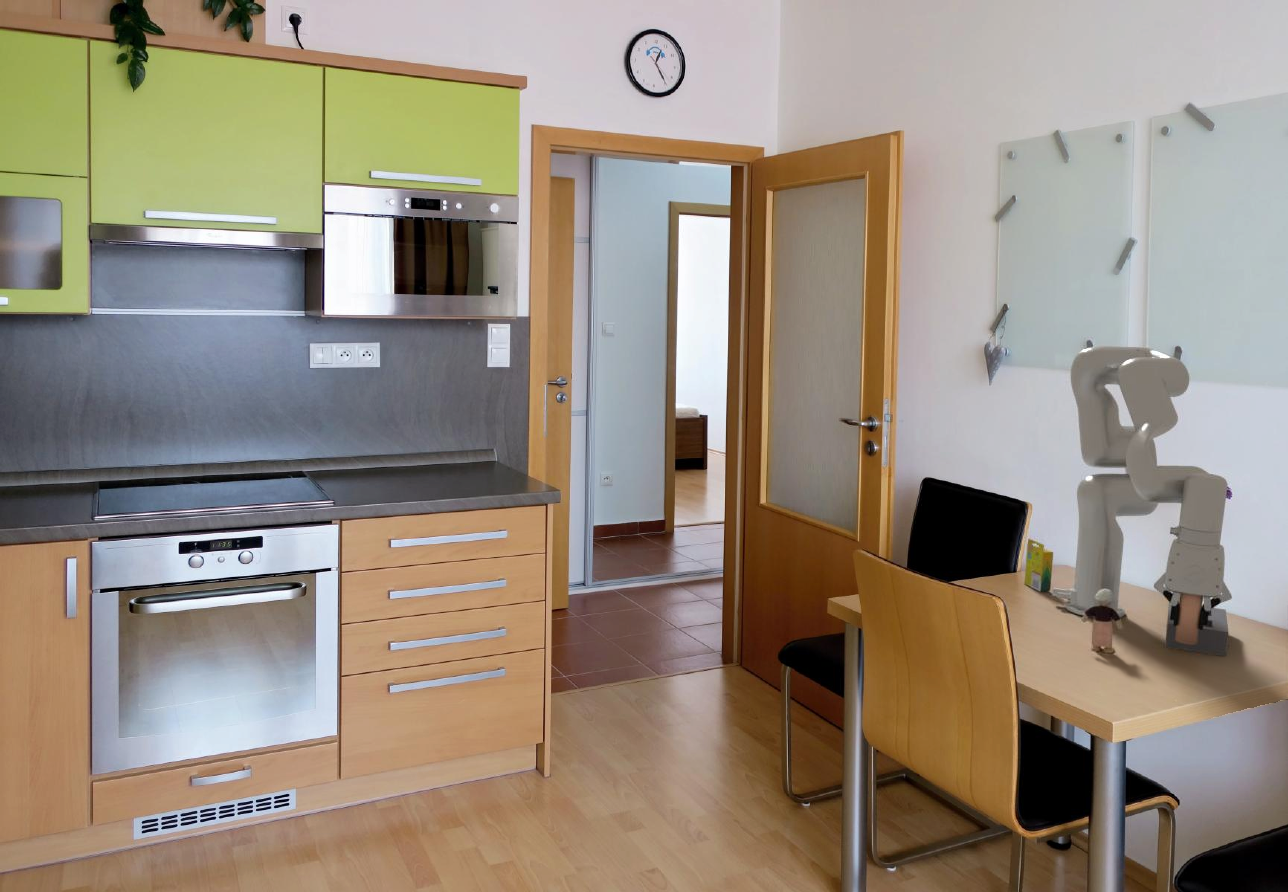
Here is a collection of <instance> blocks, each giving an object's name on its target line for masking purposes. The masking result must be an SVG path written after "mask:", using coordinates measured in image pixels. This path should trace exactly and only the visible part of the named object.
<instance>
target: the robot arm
mask: <svg viewBox="0 0 1288 892" xmlns="http://www.w3.org/2000/svg"><path fill="white" fill-rule="evenodd" d="M1070 384H1071V389H1072V393H1073V396H1074V399H1075V401H1076V407H1077V413H1078V417H1077V418H1078V429H1079V430H1078V431H1079V442H1080V451H1081V458H1082V460H1083V462H1084V463H1085V464H1086V465H1087V466H1089V467H1092V468H1099V469H1101V468H1102V469H1124V470H1125V473H1095V474H1090V475H1088V476H1086V477H1084V478H1083V479H1081V481H1080V482H1079V484H1078V486H1077V491H1076V500H1077V509H1078V534H1077V548H1076V557H1075V570H1074V582H1073V586H1072V588H1070V587H1068V588H1067V589H1066V588H1065V589H1064V588H1062V587H1061V588H1060V587H1053V588H1052V596H1053V597H1056V598H1057V599H1062V600H1063V599H1065V600H1066V601H1065V603H1064V608H1065V609H1066V610H1067V611H1069V612H1071V613H1073V614H1076V615H1080V616H1082V617H1083V616H1084V614H1085V611H1087V610H1088V609H1089V608H1091V607H1093V606H1101V605H1100V604H1099V603H1098V601H1097V600H1096V599H1095V596H1096V594H1097V593H1098V591H1100V590H1102V589H1109V590H1111V591H1112V593H1113V599H1112V602H1111V604H1110V605H1109V606H1107V607H1110V608H1112V609H1114V610H1115V611H1116V612H1117V614H1118V615H1119V617H1120V618H1122V617H1123V616H1125V613H1126V612H1125V611H1126V610H1125V608H1124V607H1123V606H1121V605H1120V604H1119V595H1120V586H1121V585H1120V584H1121V574H1122V573H1121V572H1122V565H1123V564H1122V562H1123V555H1124V554H1123V553H1124V542H1125V541H1124V539H1125V538H1124V533H1123V530H1122V528H1121V526H1120V524H1119V523H1118V521H1117V519H1116V518H1117V517H1142V516H1148V515H1151V514H1153V513H1154V511H1155V510H1156V509H1157V507H1158V504H1181V505H1180V512H1179V513H1180V514H1179V520H1178V521H1179V524H1178V525H1177V526H1175V527H1170V528H1169V529H1170V530H1169V534H1170V535H1173V536H1175V537H1177V538H1174V539H1173V540H1172V543H1171V546H1170V550H1169V551H1168V556H1167V562H1166V568H1165V572H1164V573H1163V574H1162V575H1161V576H1160V577H1159V578H1158V579H1157V580H1156V581H1155V582H1154V583H1153V588H1154V589H1155V590H1156V591H1157V592H1159V593H1160V594H1162V595H1163V596H1164V598H1165V599H1166V600H1167V601H1168V603H1169V602H1170V604H1171V605H1172V606H1171V614H1170V620H1174V621H1173V626H1176V625H1177V623H1178V615H1179V602H1180V594H1181V593H1183V594H1189V595H1196V596H1203V603H1202V609H1201V614H1200V622H1199V629H1200V630H1203V625H1207V623H1208V615H1209V611H1210V610H1211V609H1212V608H1216V607H1217V606H1219V605H1221V604H1223V603H1225V602H1227V601H1228V602H1229V601H1230V600H1232V599H1233V597H1232V592H1230V590H1229V588H1228V586H1227V585H1226V583H1225V581H1224V580H1225V579H1224V578H1225V577H1224V576H1225V566H1226V565H1225V563H1226V562H1225V559H1226V558H1225V557H1226V556H1225V549H1224V548H1225V547H1224V546H1223V545H1222V544H1221V539H1222V531H1223V523H1224V517H1225V516H1224V515H1225V506H1226V502H1227V500H1226V498H1227V492H1228V482H1227V480H1226V478H1224V477H1223V476H1220V475H1217V474H1213V473H1209V472H1208V471H1206V470H1204V469H1203V468H1202V467H1199V466H1194V465H1158V459H1157V458H1158V457H1157V449H1156V448H1157V447H1156V443H1155V440H1154V439H1155V438H1158V437H1159V436H1162V435H1164V434H1166V433H1168V432H1170V431H1171V430H1172V429H1174V427H1176V425H1177V424H1178V421H1179V415H1178V413H1177V410H1176V408H1175V405H1174V403H1173V400H1172V398H1177V397H1181V396H1182V395H1183V394H1184V393H1186V392H1187V390H1188V387H1189V385H1190V374H1189V370H1188V368H1187V366H1186V365H1185V364H1184V363H1183V361H1181V360H1180V359H1178V358H1177V357H1174V356H1172V355H1170V354H1167V353H1164V352H1161V351H1158V350H1155V349H1153V348H1150V347H1144V346H1143V347H1141V346H1110V345H1108V346H1105V345H1103V346H1092V347H1087V348H1085V349H1083V350H1081V351H1079V352H1078V353H1077V354H1076V355H1075V357H1074V358H1073V361H1072V363H1071V369H1070ZM1106 385H1115V386H1116V385H1117V386H1119V389H1120V393H1121V395H1122V397H1123V400H1124V403H1125V406H1126V409H1127V410H1128V414H1129V416H1130V419H1131V422H1132V424H1133V425H1121V421H1120V410H1119V405H1118V403H1117V401H1116V398H1115V397H1114V396H1113V394H1112V393H1111V392H1110V391H1109V390H1108V388H1106ZM1093 619H1095V617H1093Z"/></svg>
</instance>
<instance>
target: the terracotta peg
mask: <svg viewBox="0 0 1288 892" xmlns="http://www.w3.org/2000/svg"><path fill="white" fill-rule="evenodd" d="M1203 602H1204V599H1203V596H1196V595H1189V594H1183V593H1181V594H1180V597H1179V615H1178V623H1177V626H1176V634H1175V640H1176V641H1177V642H1180V643H1183V644H1189V645H1194V644H1197V640H1198V632H1199V622H1200V614H1201V609H1202V605H1203Z"/></svg>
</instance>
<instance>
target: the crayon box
mask: <svg viewBox="0 0 1288 892" xmlns="http://www.w3.org/2000/svg"><path fill="white" fill-rule="evenodd" d="M1027 540H1028V541H1027V545H1026V557H1025V558H1026V560H1025V570H1024V573H1025V574H1024V585H1026V586H1028V587H1030V588H1032V589H1034V590H1036V591H1038V592H1039V593H1043V592H1045V593H1046V592H1047V593H1049V592H1051V587H1052V575H1053V574H1052V573H1053V562H1054V560H1053V559H1054V552H1053V551H1051V550H1049V549H1046V548H1044V547H1045V544H1043V543H1041V542H1038V541H1036V540H1033V539H1031V538H1028V539H1027ZM1033 544H1036V545H1033Z"/></svg>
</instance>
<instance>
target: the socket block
mask: <svg viewBox="0 0 1288 892" xmlns="http://www.w3.org/2000/svg"><path fill="white" fill-rule="evenodd" d="M1171 606H1172V605H1171V604H1170V602H1169V601H1168V610H1167V619H1166V633H1165V636H1166V637H1165V648H1170V649H1176V650H1177V649H1178V650H1181V651H1182V650H1184V651H1189V652H1196V653H1202V654H1204V653H1205V654H1208V655H1215V656H1222V657H1223V656H1224V657H1227V650H1228V649H1227V648H1228V642H1229V641H1228V640H1229V627H1228V626H1229V625H1228V619H1227V618H1228V617H1227V616H1228V615H1227V610H1226V609H1223V608H1218V607H1217V608H1216V607H1214V608H1212V609H1211V610H1210V611H1209V615H1208V623H1207V625H1203V630H1200V629H1199V632H1198V640H1197V644H1194V645H1189V644H1183V643H1180V642H1177V641H1176V640H1175V634H1176V626H1177V625H1176V626H1173V621H1174V620H1170V614H1171Z"/></svg>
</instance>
